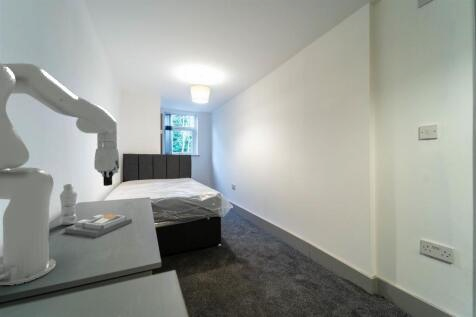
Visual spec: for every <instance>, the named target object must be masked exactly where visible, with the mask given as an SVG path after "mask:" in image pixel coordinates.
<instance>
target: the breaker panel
mask: <svg viewBox="0 0 476 317" xmlns="http://www.w3.org/2000/svg"><path fill="white" fill-rule="evenodd" d="M106 215H107V214H106ZM106 215H104V214H97V215H94V216H92V217H91V219H80V220H78V221H77V220H76V222H75V224H74V225H73V224H72V225H70V226H67V227H64V233H65V234H66V233H67V234H71V235H79V236H84V237H85V236H86V237H87V236H88V237H93V238H99V237H101V236H103V235H105V234H107V233H110V232H112V231H115V230H116V229H119V228H122V227H124V226H126V225H129V224H131V223H132V222H133V219H132V218H131V217H127V216H126V215H119V214H116V215H117V218H115V219H113V220H112V221H110V222H108V223H105V224H95V223H94V222H96V221H97V220H99V219H101V218H103V217H104V216H106Z"/></svg>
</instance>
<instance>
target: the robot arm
mask: <svg viewBox="0 0 476 317" xmlns="http://www.w3.org/2000/svg"><path fill="white" fill-rule="evenodd" d="M12 94H17V95H18V94H20V95H21V94H25V95H28V96H30V97H31V98H33V99H34V100H36V101H38V102H39V103H41V104H43V105H44V106H46V107H47V108H48V109H50V110H52V111H53V112H55V113H57V114H60V115H63V116H66V117H71V118H76V122H75V124H76V125H75V126H76V127H77V129H78V130H79V131H80V132H82V133H84V134H96V136H97V137H96V140H97V143H96V147H97V148H96V149H95V153H94V161H93V162H94V163H93V164H94V170H96V171H97V173H100V174H101V177H102V178H103V182H102V183H103V186H104V187H109V186H112V185H113V177H114V175H115V174H118V173H119V170H120V156H119V155H120V154H119V150H118V135H117V134H118V131H117V129H118V128H117V126H118V125H117V124H118V123H117V120H116V119H115V118H114V117H113V115H111V114H110V113H109V112H108V111H107V110H106V109H104V108H103V107H102V106H100V105H98V104H96V103H93V102H91V101H89V100H87V99H85V98H83V97H81V96H78V95H75V94H74V93H72V92H71V91H70V90H69V89H67V88H66V87H65V86H64V85H63V84H61V83H60V82H58V80H56V79H55V78H54V77H53V76H52V75H50V74H49V73H48V72H46V71H45V70H44V69H42V68H41V67H39V66H37V65H35V64H33V63H26V62H25V63H24V62H23V63H22V62H20V63H19V62H18V63H15V62H14V63H1V62H0V200H9V202H8V205H7V206H6V208H5V210H4V212H3V215H2V263H1V264H0V285H10V286H15V284H16V285H20V284H25V283H27V282H31V281H34V280H36V278H37V279H39V278H41V277H43V276H45V275H47V274H49V273H50V272H52V271H54V269H55V267H56V263H57V262H56V260H55V259H53V258H50V204H51V203H50V202H51V197H52V196H51V195H52V193H53V189H54V182H55V181H54V178H53V176H52V175H51V173H49V172H48V171H46V170H44V169H42V168H38V167H37V168H36V167H24V165H25V164H26V163H28V161H29V159H30V153H29V152H30V151H29V149H28V147H27V146H26V144H25V143H24V141H23V138H21V136H20V135H19V132H17V130H16V129H15V127H14V125H13V123H12V121H11V120H10V118H9V117H8V114H7V103H8V101H9V98H10V96H11V95H12ZM22 166H23V167H22ZM24 282H25V283H24Z"/></svg>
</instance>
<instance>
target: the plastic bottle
mask: <svg viewBox="0 0 476 317" xmlns="http://www.w3.org/2000/svg"><path fill="white" fill-rule="evenodd" d="M62 188H63V190H62V191H61V193H60V195H59V200H60V206H61V207H60V208H61V210H60V216H59V224H60V225H61V226H69V225H70V226H71V225H73V224H76V222H77V220H78V216H77V213H76V203H77V197H78V193H77V192H76V190H75V189H74V184H73V183H68V184H67V183H66V184H63V187H62Z"/></svg>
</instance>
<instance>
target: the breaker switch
mask: <svg viewBox="0 0 476 317" xmlns="http://www.w3.org/2000/svg"><path fill="white" fill-rule="evenodd" d="M117 215H118V214H111V213H107V214H106V216H104V217H103V218H101V219H99V220H97V221H96V222H94V223H95V224H105V223H108V222H110V221H112V220H113V219H115V218H117Z"/></svg>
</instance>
